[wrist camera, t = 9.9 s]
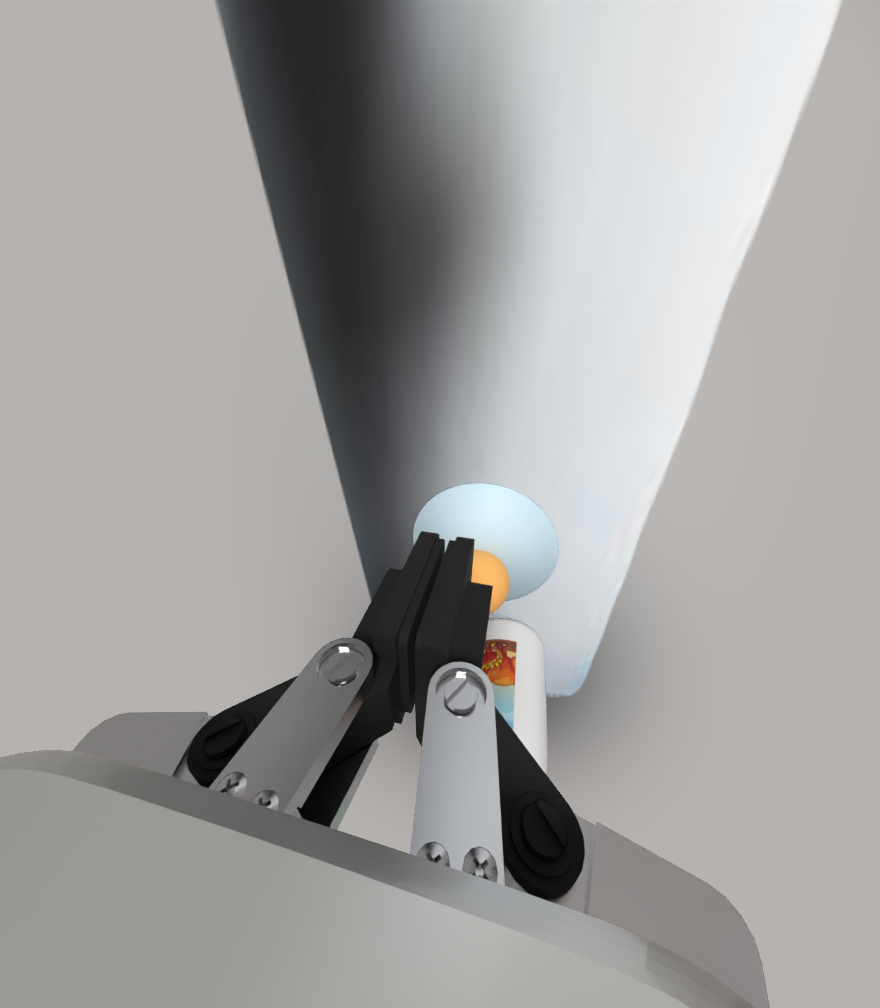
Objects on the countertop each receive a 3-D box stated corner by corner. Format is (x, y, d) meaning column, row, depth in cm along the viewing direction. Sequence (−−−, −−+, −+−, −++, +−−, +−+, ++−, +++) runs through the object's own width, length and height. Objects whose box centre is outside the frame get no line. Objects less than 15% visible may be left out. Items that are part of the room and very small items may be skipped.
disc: (411, 474, 29) (411, 475, 29) (573, 493, 27) (573, 494, 27) (415, 587, 36) (414, 589, 36) (544, 611, 34) (544, 612, 34)
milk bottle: (548, 622, 34) (562, 931, 18) (540, 671, 38) (545, 962, 22) (470, 610, 36) (416, 884, 19) (470, 658, 40) (424, 920, 23)
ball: (454, 539, 33) (442, 555, 28) (513, 547, 32) (513, 566, 27) (448, 594, 34) (436, 620, 28) (506, 604, 33) (504, 633, 27)
